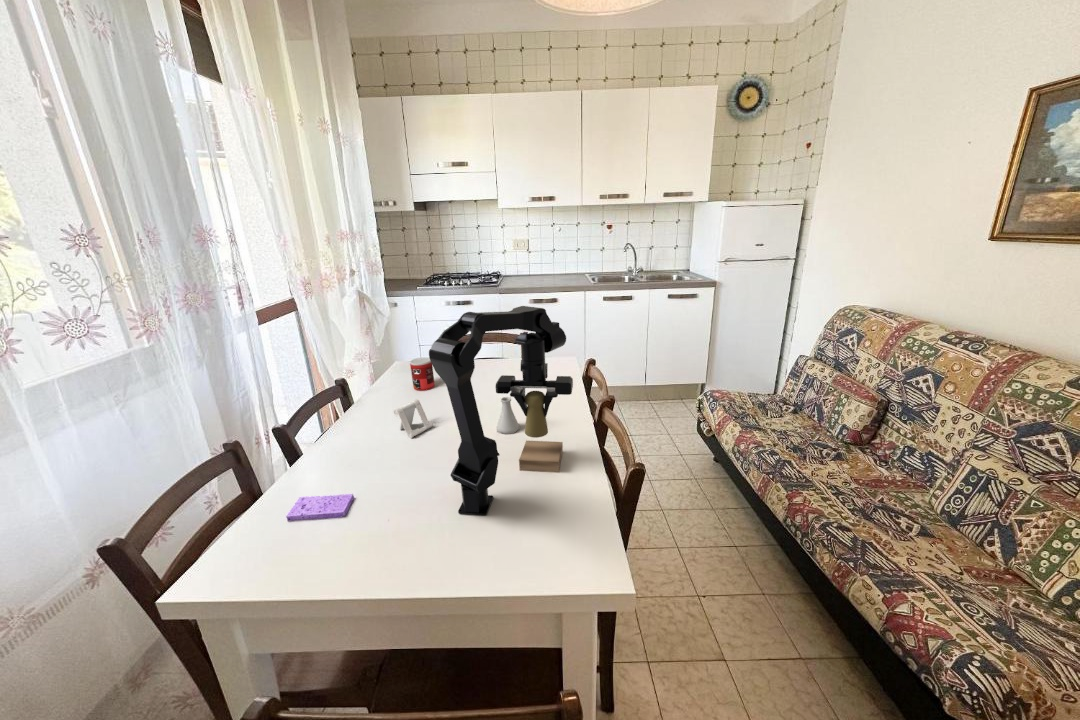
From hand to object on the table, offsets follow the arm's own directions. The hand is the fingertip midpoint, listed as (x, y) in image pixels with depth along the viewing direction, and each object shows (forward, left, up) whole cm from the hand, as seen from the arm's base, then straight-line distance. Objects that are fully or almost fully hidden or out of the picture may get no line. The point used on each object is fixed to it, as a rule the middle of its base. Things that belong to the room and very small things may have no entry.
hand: (536, 415), depth 111 cm
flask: (+17, +12, -13) cm, 25 cm away
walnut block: (0, -1, -13) cm, 13 cm away
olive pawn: (0, 0, -5) cm, 5 cm away
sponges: (-25, +46, -14) cm, 54 cm away
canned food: (+48, +52, -13) cm, 72 cm away
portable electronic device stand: (+14, +41, -13) cm, 45 cm away
